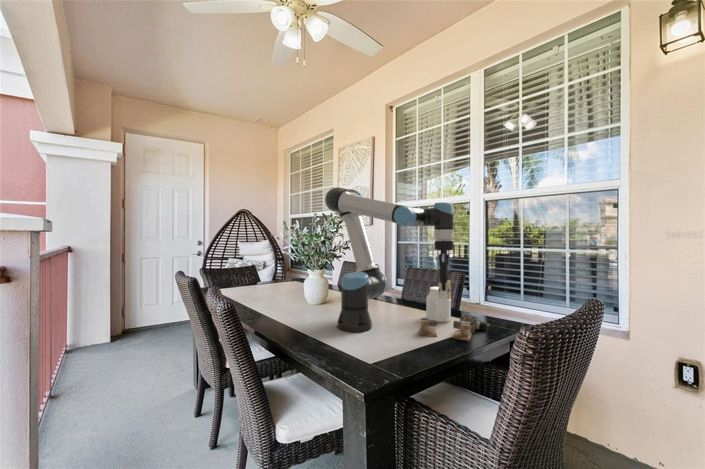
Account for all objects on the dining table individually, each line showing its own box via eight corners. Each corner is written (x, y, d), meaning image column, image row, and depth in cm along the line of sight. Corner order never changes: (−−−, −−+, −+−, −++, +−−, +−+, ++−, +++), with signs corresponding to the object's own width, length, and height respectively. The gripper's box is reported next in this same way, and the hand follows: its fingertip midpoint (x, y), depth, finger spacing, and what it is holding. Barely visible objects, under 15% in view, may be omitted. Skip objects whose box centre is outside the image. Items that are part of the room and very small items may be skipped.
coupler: (438, 298, 133) (438, 281, 133) (439, 296, 137) (439, 279, 137) (450, 299, 131) (450, 281, 131) (450, 297, 135) (450, 280, 136)
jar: (446, 316, 163) (447, 286, 162) (453, 322, 153) (454, 290, 153) (423, 316, 162) (424, 286, 162) (429, 322, 152) (429, 290, 152)
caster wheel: (484, 333, 145) (485, 337, 135) (458, 325, 149) (457, 328, 140) (488, 318, 145) (489, 321, 136) (462, 310, 149) (461, 312, 140)
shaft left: (420, 335, 133) (420, 320, 133) (419, 329, 141) (420, 315, 141) (436, 336, 132) (437, 321, 132) (435, 330, 140) (435, 316, 140)
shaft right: (452, 338, 130) (452, 323, 130) (455, 332, 137) (455, 318, 137) (469, 340, 127) (469, 325, 127) (471, 335, 134) (472, 320, 134)
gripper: (452, 240, 124) (453, 302, 125) (454, 239, 141) (454, 293, 141) (432, 240, 127) (432, 301, 127) (436, 239, 144) (436, 292, 144)
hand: (444, 297), depth 134 cm, fingers closed on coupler, 5 cm apart
